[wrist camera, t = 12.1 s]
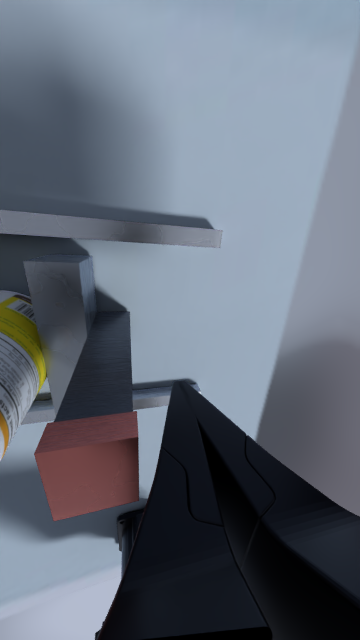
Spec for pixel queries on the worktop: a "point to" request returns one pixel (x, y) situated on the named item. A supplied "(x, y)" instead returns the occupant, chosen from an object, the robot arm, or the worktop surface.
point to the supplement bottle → (17, 363)
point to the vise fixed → (112, 232)
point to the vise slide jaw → (83, 391)
